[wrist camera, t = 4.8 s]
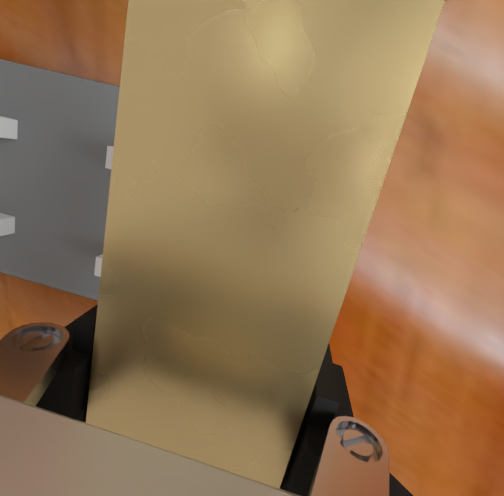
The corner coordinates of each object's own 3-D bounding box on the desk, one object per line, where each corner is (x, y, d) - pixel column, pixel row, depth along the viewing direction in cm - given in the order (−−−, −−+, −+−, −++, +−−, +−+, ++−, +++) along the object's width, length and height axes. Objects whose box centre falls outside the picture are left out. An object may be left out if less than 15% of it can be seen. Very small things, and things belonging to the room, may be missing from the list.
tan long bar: (218, 15, 10) (133, -146, 5) (383, 49, 9) (481, -88, 4) (137, 488, 15) (58, 645, 10) (239, 522, 15) (209, 703, 10)
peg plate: (-32, 53, 26) (-99, 29, 21) (214, 110, 24) (195, 97, 20) (-29, 257, 30) (-84, 272, 26) (175, 316, 29) (154, 342, 24)
